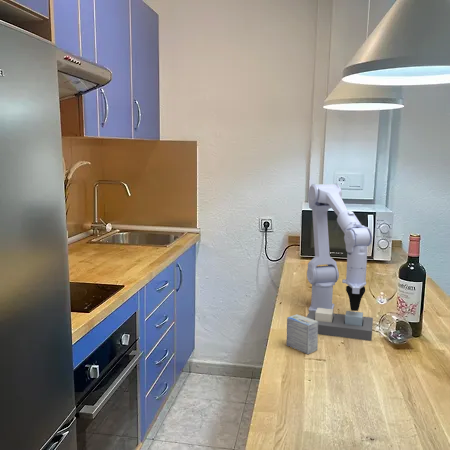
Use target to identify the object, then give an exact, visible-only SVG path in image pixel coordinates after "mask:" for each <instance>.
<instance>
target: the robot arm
mask: <svg viewBox="0 0 450 450" xmlns="http://www.w3.org/2000/svg"><path fill="white" fill-rule="evenodd" d="M342 194H343V191H342V188H341V187H340V185H339V183H326V184H325V183H324V184H323V183H321V184H320V183H319V184H316V183H312V184H311V185H310V186H309V189H308V192H307V198H308V199H307V200H308V201H307V202H308V208H309V209H310V210H312V226H313V230H312V231H313V242H314V243H313V244H314V257H313V258H312V259H311V260H309V262H308V263H307V271H306V278H307V280H308V282H309V284H311V300H310V301H311V303H310V305H309V307H308V312H309V311H316V310H317V308H325V309H333V310H334V307H335V303H333V291H334V286H336V283H337V282H338V280H339V278H340V277H339V276H340V273H339V269H338V263H337V261H336V260H334V258H332V256H331V255H330V254H331V253H330V240H329V238H330V237H329V226H328V225H329V224H328V222H329V221H328V211H329V210H330V209H332V210H333V212H334V213H335V214H336V216H337V217H336V222H337V224H338V227H340V229H341V230H342V232H343V233H344V236H343V240H344V243H345V251H346V252H347V253H346V254H347V255H346V256H347V257H346V258H347V259H346V274H345V275H346V276H345V277H346V278H345V279H342V280H341V281H342V282H341V283H342V284H346V286H345V291H346V293H347V296H348V300H349V306H350V311H353V312H359V309H360V306H361V301H362V298H363V296H364V294H365V293H366V286H367V281H366V279H367V265H368V264H367V263H368V260H367V259H368V247H369V246H370V245H371V244H372V242H373V241H372V240H373V234H372V232H371V229H370V228H369V227H368V226H365V225H362V223H361V222H360V221H359V219H358V217H357V215H355V213H354V212H353V211H352V210H348V209H347V208H348V207H347V206H346V204H345V202H344V201H343V199H342Z"/></svg>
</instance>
